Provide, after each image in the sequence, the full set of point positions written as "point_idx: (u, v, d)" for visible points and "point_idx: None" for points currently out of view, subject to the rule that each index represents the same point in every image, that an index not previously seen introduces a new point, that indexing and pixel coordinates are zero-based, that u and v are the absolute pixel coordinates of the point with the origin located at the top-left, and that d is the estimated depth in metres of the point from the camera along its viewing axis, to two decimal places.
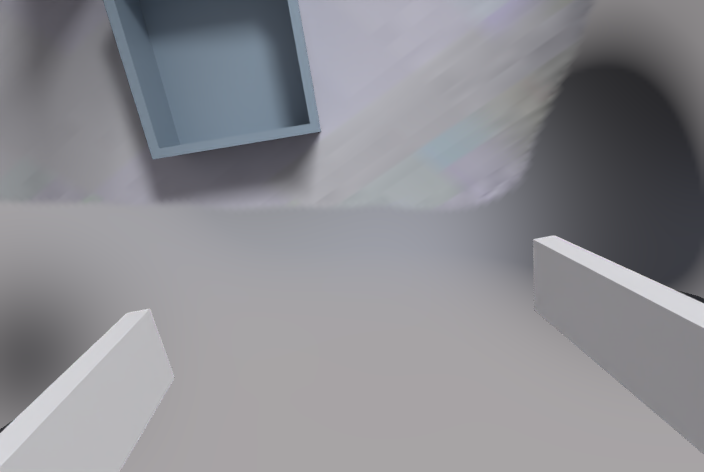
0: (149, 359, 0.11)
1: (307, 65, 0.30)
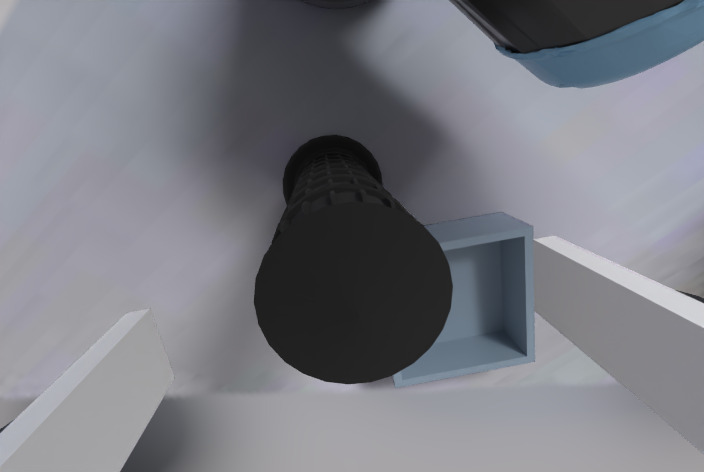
0: (149, 359, 0.11)
1: (532, 316, 0.36)
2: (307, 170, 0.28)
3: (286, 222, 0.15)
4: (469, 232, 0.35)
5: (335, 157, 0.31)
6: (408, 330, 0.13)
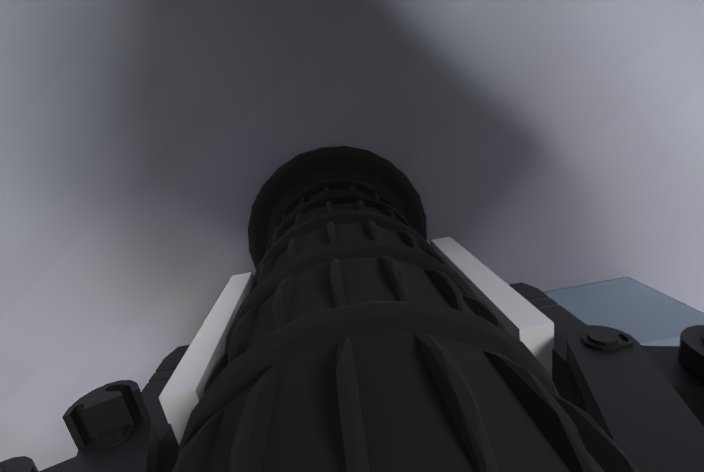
0: None
1: None
2: (282, 238, 0.12)
3: None
4: None
5: (347, 197, 0.15)
6: None
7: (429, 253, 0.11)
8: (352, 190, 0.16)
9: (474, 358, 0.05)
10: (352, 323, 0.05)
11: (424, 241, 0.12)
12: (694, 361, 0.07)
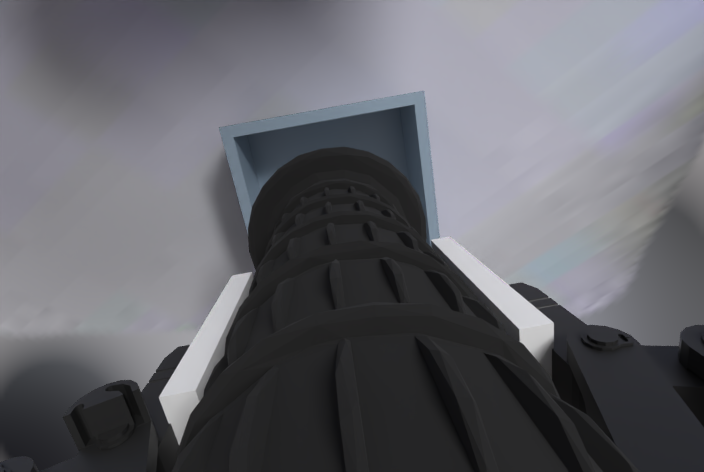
0: None
1: (435, 216, 0.29)
2: (282, 239, 0.12)
3: None
4: None
5: (346, 197, 0.15)
6: None
7: (429, 254, 0.11)
8: (352, 190, 0.16)
9: (474, 361, 0.05)
10: (352, 325, 0.05)
11: (424, 242, 0.12)
12: (694, 361, 0.07)
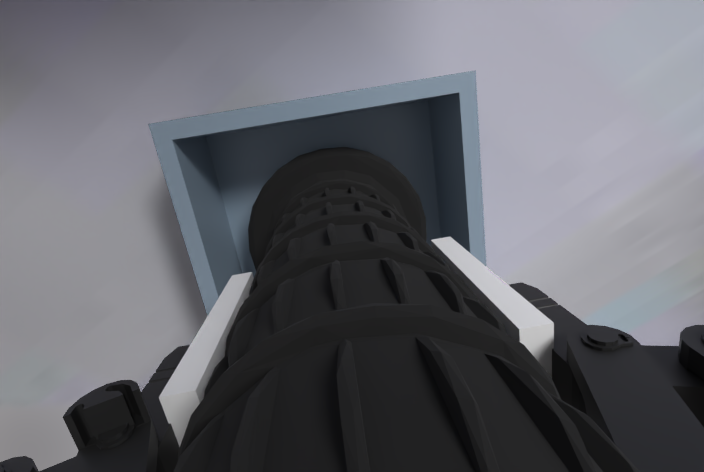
0: None
1: (483, 262, 0.19)
2: (282, 239, 0.12)
3: None
4: None
5: (347, 198, 0.15)
6: None
7: (429, 254, 0.11)
8: (352, 191, 0.16)
9: (475, 362, 0.05)
10: (352, 326, 0.05)
11: (424, 242, 0.12)
12: (694, 361, 0.07)
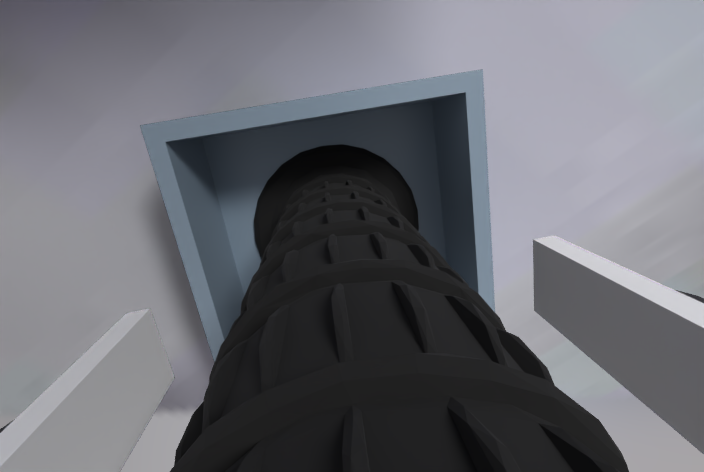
0: (149, 359, 0.11)
1: (490, 268, 0.18)
2: (287, 223, 0.13)
3: None
4: None
5: (344, 189, 0.16)
6: None
7: None
8: (349, 183, 0.18)
9: (435, 299, 0.07)
10: (344, 274, 0.07)
11: (411, 226, 0.14)
12: None
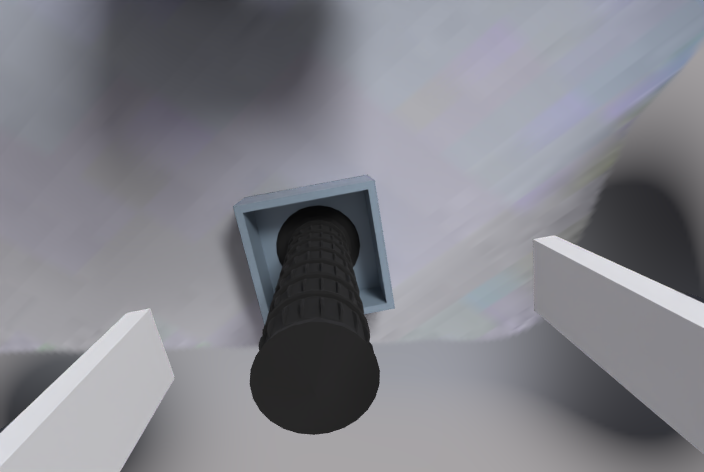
0: (149, 359, 0.11)
1: (386, 264, 0.40)
2: (294, 246, 0.35)
3: (271, 322, 0.22)
4: (322, 188, 0.39)
5: (317, 230, 0.38)
6: (350, 400, 0.20)
7: (342, 250, 0.35)
8: (321, 227, 0.40)
9: (330, 266, 0.28)
10: (309, 261, 0.29)
11: (342, 246, 0.35)
12: None
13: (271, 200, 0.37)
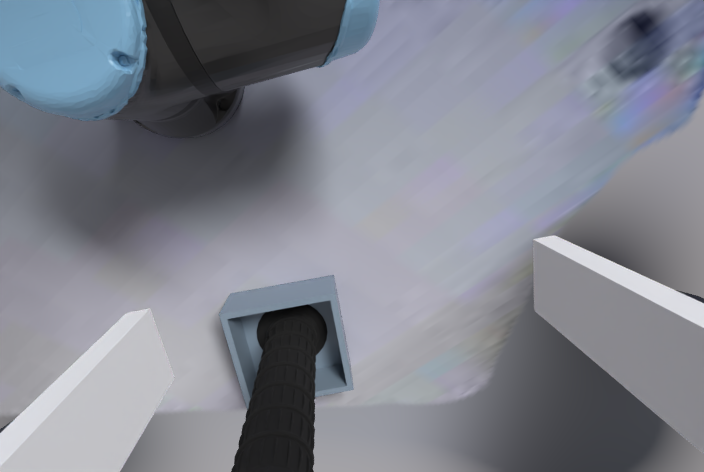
0: (149, 359, 0.11)
1: (346, 356, 0.49)
2: (267, 352, 0.43)
3: (239, 459, 0.30)
4: (293, 296, 0.47)
5: (288, 332, 0.46)
6: None
7: (305, 357, 0.43)
8: (292, 326, 0.48)
9: (291, 389, 0.37)
10: (274, 384, 0.37)
11: (306, 352, 0.44)
12: None
13: (250, 309, 0.46)
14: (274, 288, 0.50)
